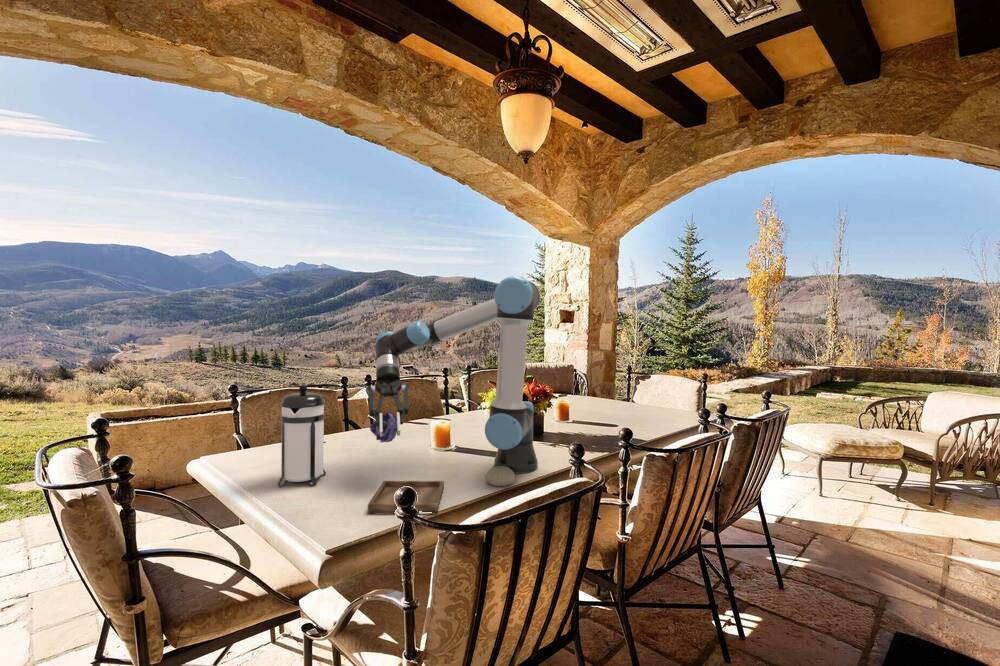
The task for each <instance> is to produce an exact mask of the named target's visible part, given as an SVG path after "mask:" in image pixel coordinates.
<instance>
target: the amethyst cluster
mask: <svg viewBox="0 0 1000 666" xmlns="http://www.w3.org/2000/svg"><path fill="white" fill-rule="evenodd" d="M382 428H383V434H382V437H380V426H376V420H375V421H373V423H371V425H370V427H369V429H370V432H371V433H372V434H373V435H374V436H375V437H376V438H375V439H376V440H377V441H379V443H390V442H392V441H393V440H394V439H395V438H396V436H400V435H397V415H395V414H393V413H392V412H390V411H387V412H385V414H382Z"/></svg>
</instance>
